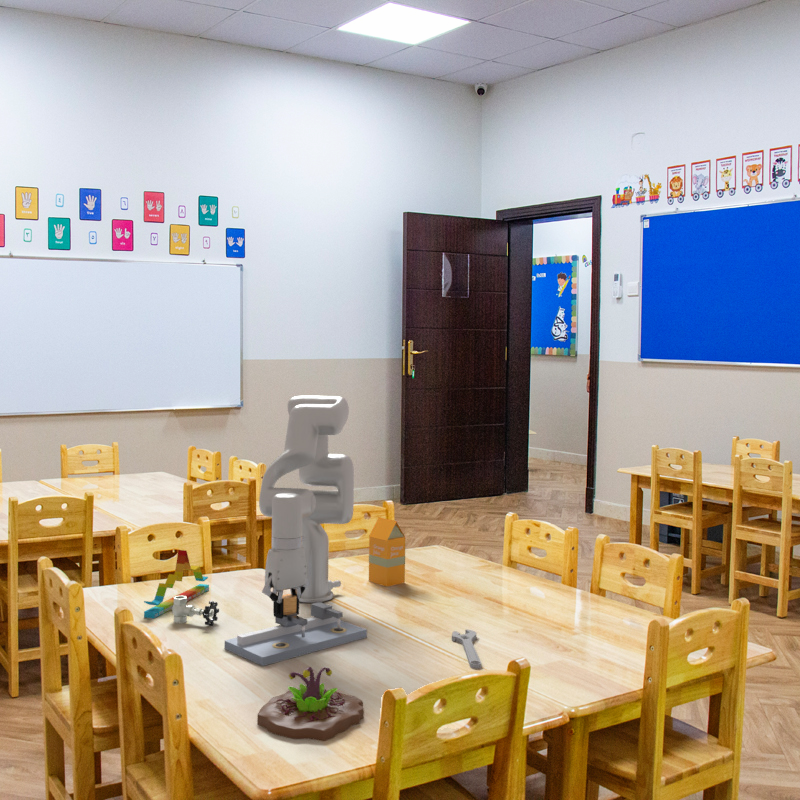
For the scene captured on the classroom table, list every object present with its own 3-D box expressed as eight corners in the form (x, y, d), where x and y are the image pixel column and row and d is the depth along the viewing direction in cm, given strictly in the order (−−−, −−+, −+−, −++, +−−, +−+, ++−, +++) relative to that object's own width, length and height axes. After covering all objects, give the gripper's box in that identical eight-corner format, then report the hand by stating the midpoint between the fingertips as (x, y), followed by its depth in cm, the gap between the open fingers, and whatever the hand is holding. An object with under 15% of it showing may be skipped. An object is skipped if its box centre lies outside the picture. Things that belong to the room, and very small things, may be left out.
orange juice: (386, 577, 292) (387, 515, 290) (405, 582, 285) (406, 519, 284) (368, 581, 286) (368, 518, 285) (386, 586, 280) (387, 522, 279)
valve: (166, 624, 239) (206, 629, 235) (166, 599, 239) (206, 604, 235) (180, 617, 245) (219, 622, 242) (180, 593, 245) (219, 598, 241)
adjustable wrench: (482, 671, 209) (482, 663, 209) (454, 670, 210) (454, 663, 209) (475, 635, 234) (475, 629, 234) (450, 635, 235) (451, 628, 234)
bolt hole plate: (327, 622, 242) (327, 596, 242) (366, 637, 231) (367, 610, 230) (224, 648, 220) (224, 620, 220) (262, 666, 209) (262, 636, 208)
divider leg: (286, 626, 230) (286, 592, 229) (311, 635, 223) (311, 601, 222) (273, 629, 227) (274, 595, 227) (297, 639, 220) (298, 604, 219)
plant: (240, 730, 175) (240, 673, 174) (289, 695, 193) (290, 643, 192) (334, 748, 167) (334, 689, 167) (376, 710, 185) (376, 656, 185)
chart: (154, 619, 244) (154, 564, 243) (144, 618, 245) (144, 563, 244) (209, 591, 273) (209, 541, 272) (200, 590, 274) (200, 541, 273)
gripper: (304, 536, 234) (303, 606, 235) (250, 545, 222) (249, 618, 223) (322, 541, 228) (321, 612, 230) (268, 550, 217) (267, 625, 218)
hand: (286, 614), depth 226 cm, fingers closed on divider leg, 4 cm apart
